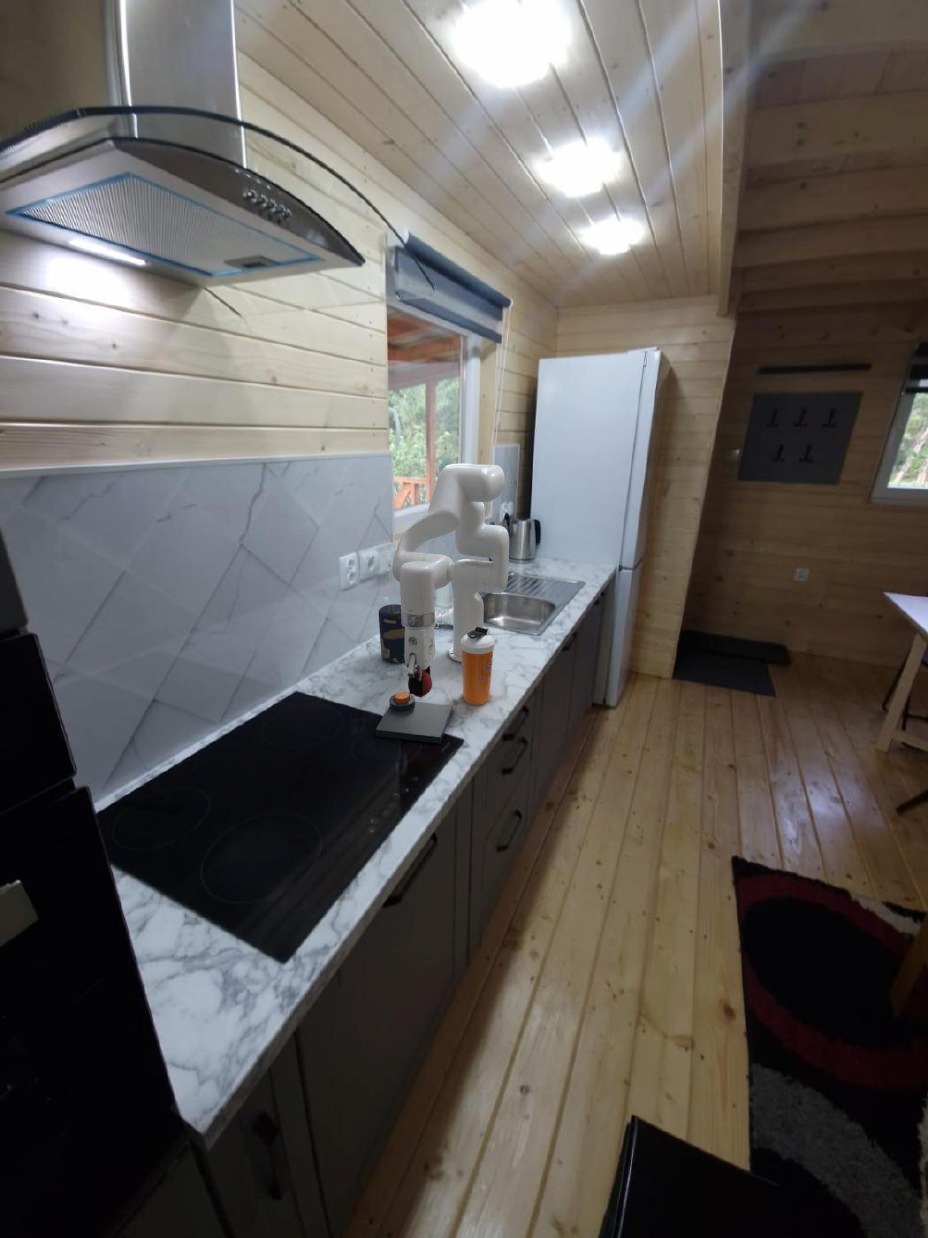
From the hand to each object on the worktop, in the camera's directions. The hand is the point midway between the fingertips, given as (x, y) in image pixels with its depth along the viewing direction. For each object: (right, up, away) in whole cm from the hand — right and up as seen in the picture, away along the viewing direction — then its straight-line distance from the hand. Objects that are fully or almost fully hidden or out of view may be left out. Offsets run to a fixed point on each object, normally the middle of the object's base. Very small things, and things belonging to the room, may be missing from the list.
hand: (420, 686), depth 118 cm
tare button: (-6, -5, +11) cm, 13 cm away
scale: (-2, -10, +7) cm, 12 cm away
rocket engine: (+7, +14, +66) cm, 68 cm away
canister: (-11, +3, +40) cm, 42 cm away
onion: (0, -3, +1) cm, 3 cm away
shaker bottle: (+14, -6, +18) cm, 24 cm away
